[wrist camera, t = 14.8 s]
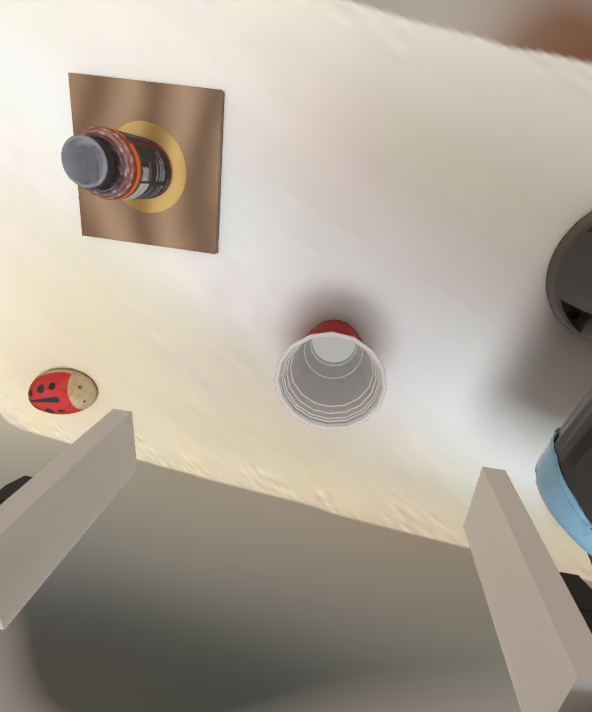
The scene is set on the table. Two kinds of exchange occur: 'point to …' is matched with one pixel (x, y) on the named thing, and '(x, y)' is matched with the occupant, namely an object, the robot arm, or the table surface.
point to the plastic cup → (331, 378)
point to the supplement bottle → (116, 164)
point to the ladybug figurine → (62, 392)
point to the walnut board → (179, 141)
